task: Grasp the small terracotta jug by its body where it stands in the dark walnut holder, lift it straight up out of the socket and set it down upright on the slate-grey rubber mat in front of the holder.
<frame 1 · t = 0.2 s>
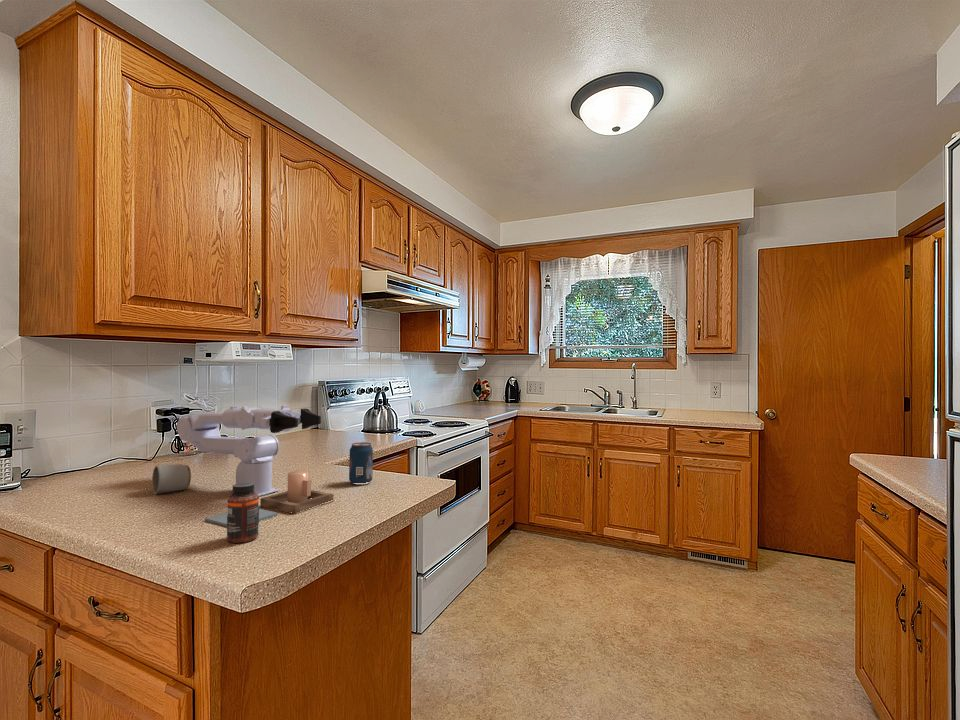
hand: (308, 421, 126), 21 cm above the worktop, tool horizontal, fingers open, 7 cm apart
soda can: (360, 483, 147), on the worktop
ceramic mug: (168, 491, 136), on the worktop
jug: (297, 504, 124), resting in holder
holder: (297, 503, 124), on the worktop
mat: (241, 518, 113), on the worktop
supplement bottle: (242, 539, 99), on the worktop
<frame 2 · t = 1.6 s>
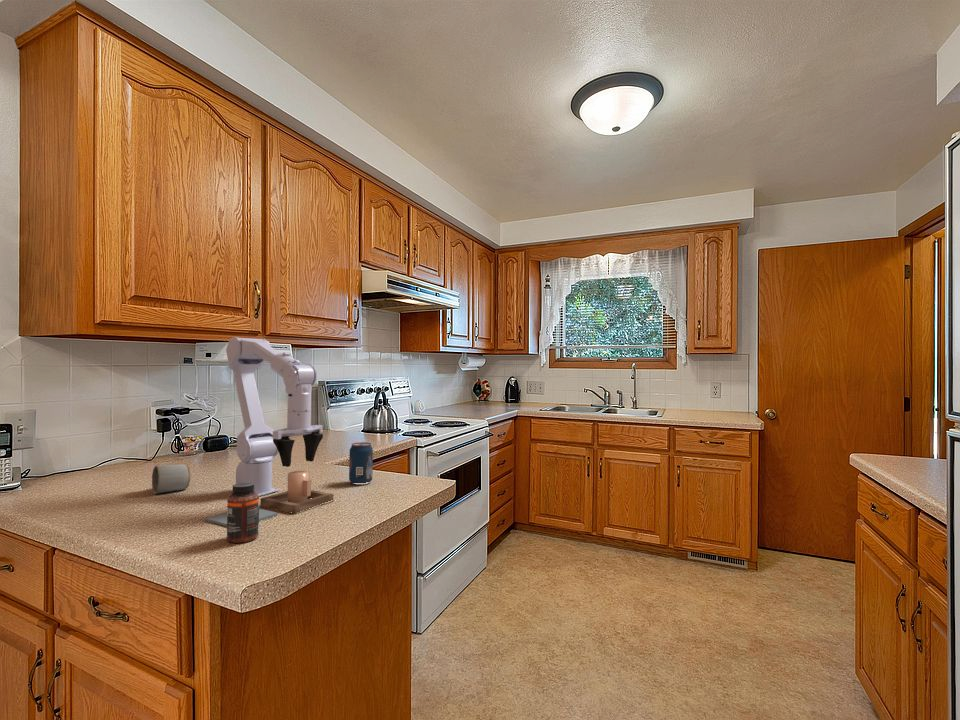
hand: (298, 463, 125), 10 cm above the worktop, tool pointing down, fingers open, 7 cm apart
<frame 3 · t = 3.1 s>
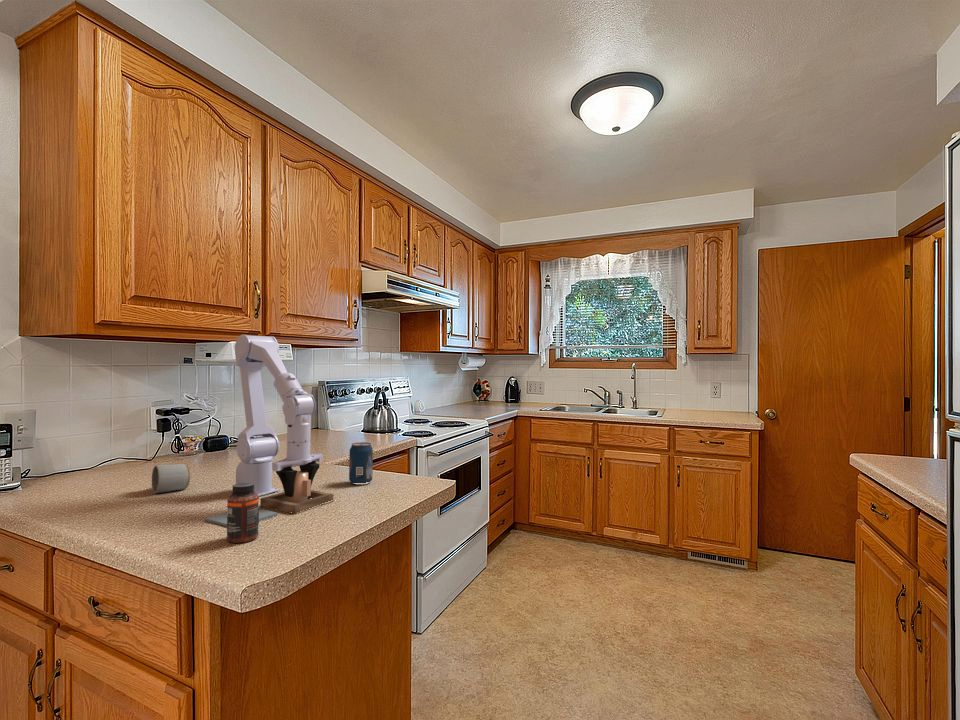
hand: (297, 493, 124), 3 cm above the worktop, tool pointing down, fingers closed on jug, 5 cm apart
jug: (297, 504, 124), resting in holder, touching gripper
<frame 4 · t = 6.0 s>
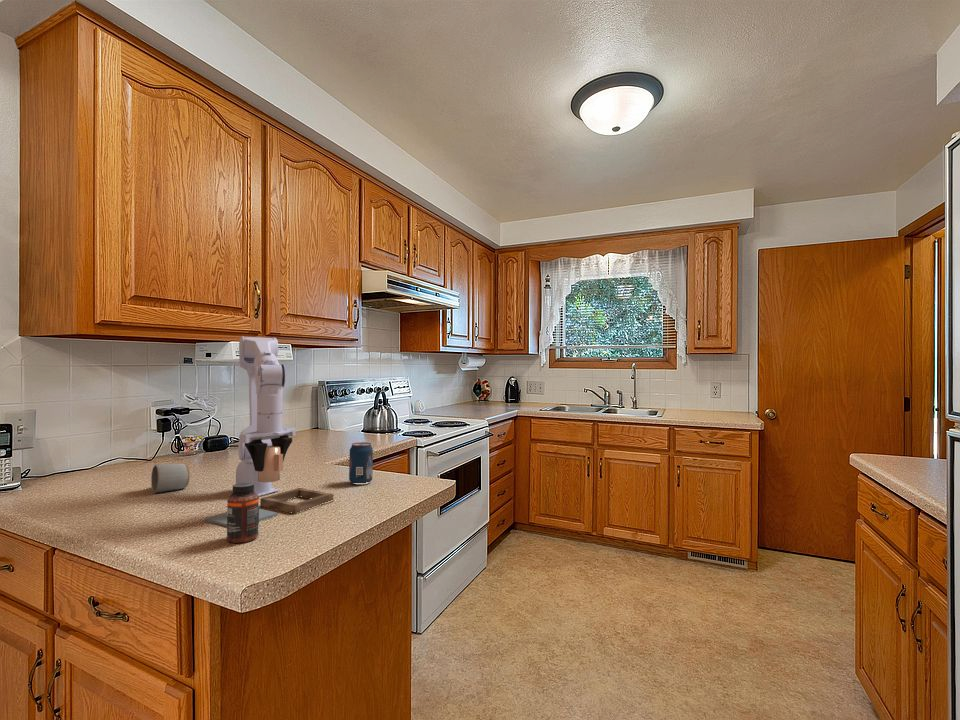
hand: (268, 468, 118), 10 cm above the worktop, tool pointing down, fingers closed on jug, 5 cm apart
jug: (268, 479, 118), point 8 cm above the worktop, touching gripper
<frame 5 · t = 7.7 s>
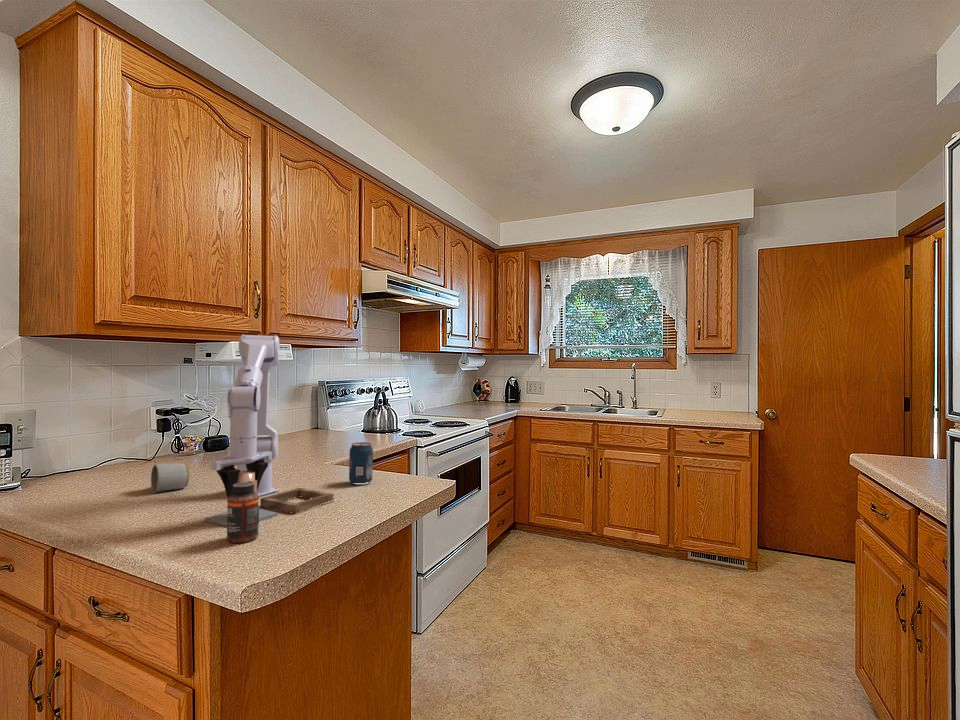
hand: (242, 495, 113), 5 cm above the worktop, tool pointing down, fingers closed on jug, 5 cm apart
jug: (242, 507, 112), point 3 cm above the worktop, touching gripper
when the fingers open (5 cm above the worktop, at t = 9.1 s): jug drops 1 cm, resting on mat.
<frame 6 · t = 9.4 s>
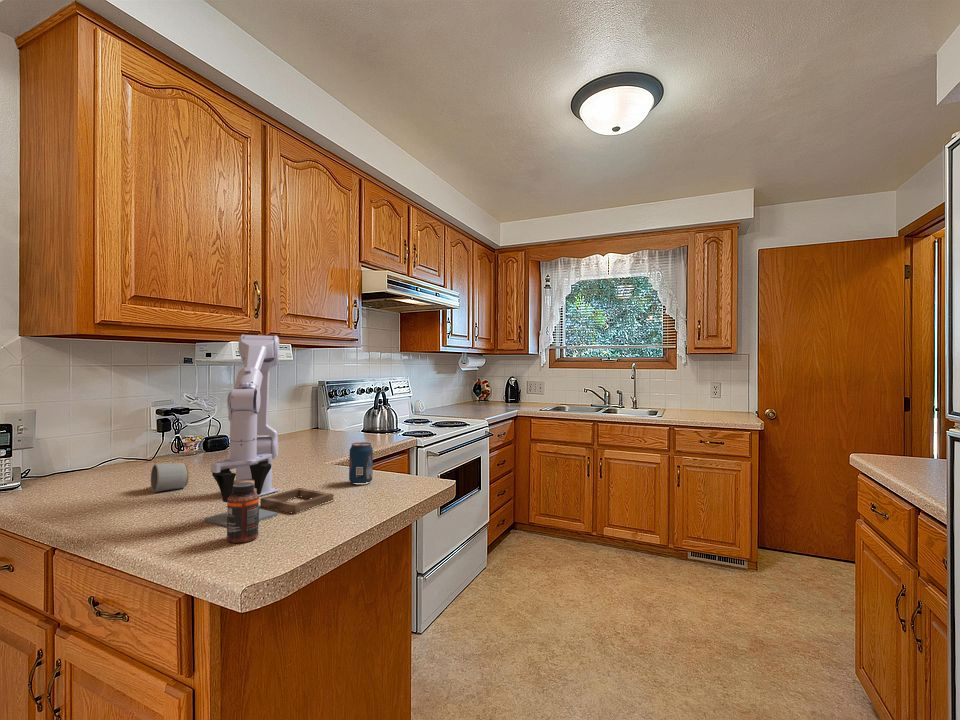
hand: (242, 497, 113), 5 cm above the worktop, tool pointing down, fingers open, 7 cm apart
jug: (242, 515, 112), point 1 cm above the worktop, touching mat
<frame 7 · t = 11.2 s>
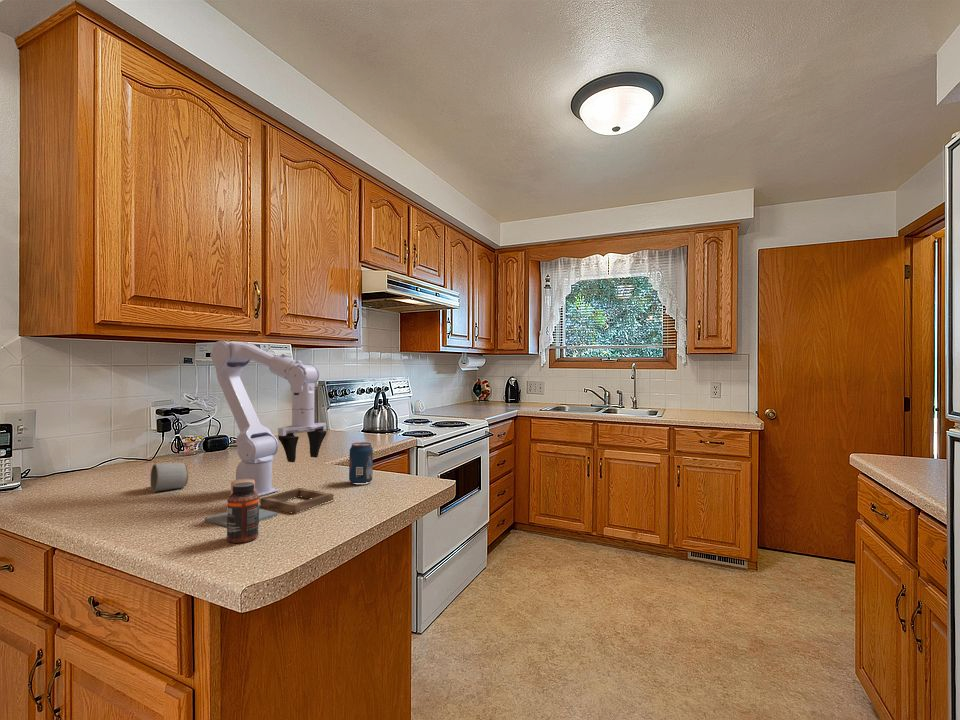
hand: (302, 459, 130), 10 cm above the worktop, tool pointing down, fingers open, 7 cm apart
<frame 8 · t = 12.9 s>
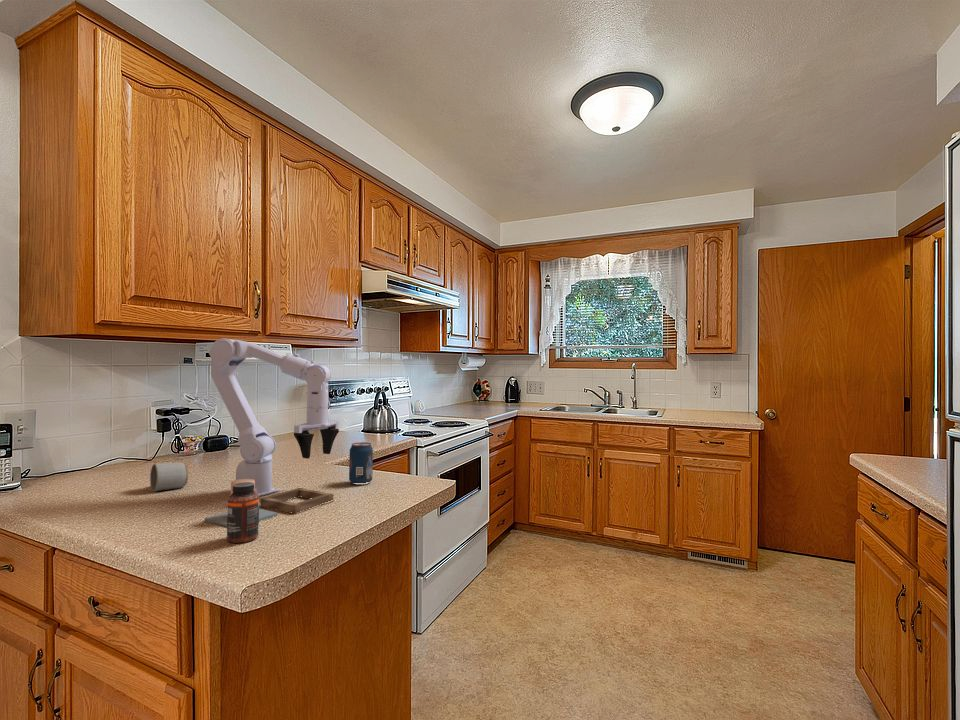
hand: (316, 455, 135), 10 cm above the worktop, tool pointing down, fingers open, 7 cm apart
at the end: jug 0.1 cm off-centre on the mat, point 0.6 cm above the mat's base; jug tilted 0°; the gripper is holding nothing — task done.
